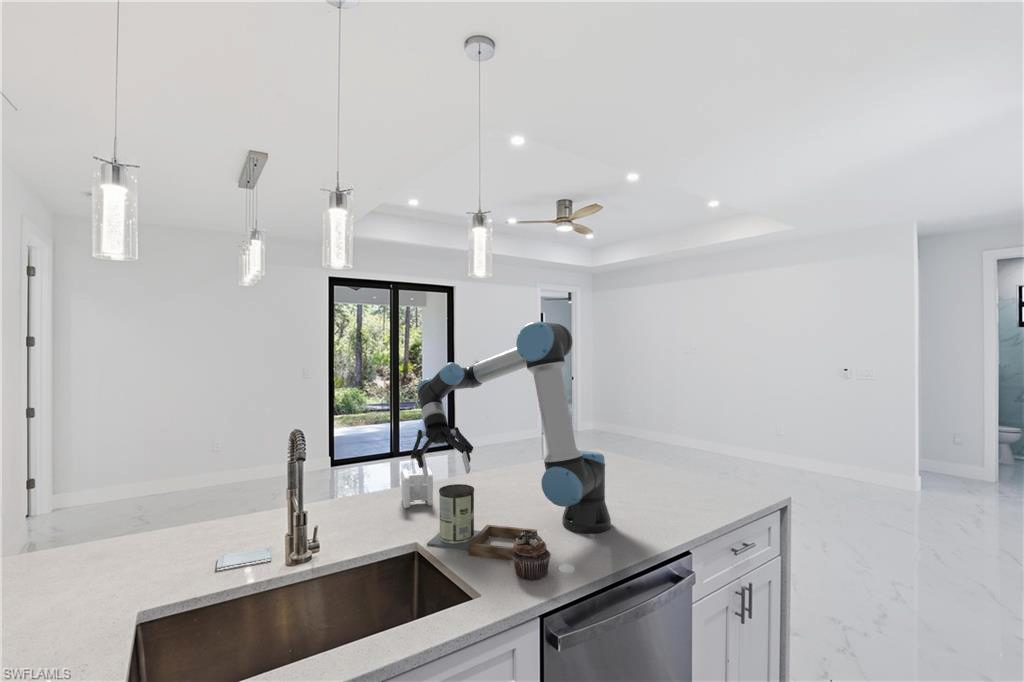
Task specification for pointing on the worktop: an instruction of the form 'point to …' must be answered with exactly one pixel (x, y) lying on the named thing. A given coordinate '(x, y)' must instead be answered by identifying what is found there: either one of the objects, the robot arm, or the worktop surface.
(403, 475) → the cable organizer
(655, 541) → the worktop surface
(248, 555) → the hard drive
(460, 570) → the worktop surface
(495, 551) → the walnut collar
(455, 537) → the coffee can
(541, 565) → the cupcake
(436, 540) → the rubber pad
